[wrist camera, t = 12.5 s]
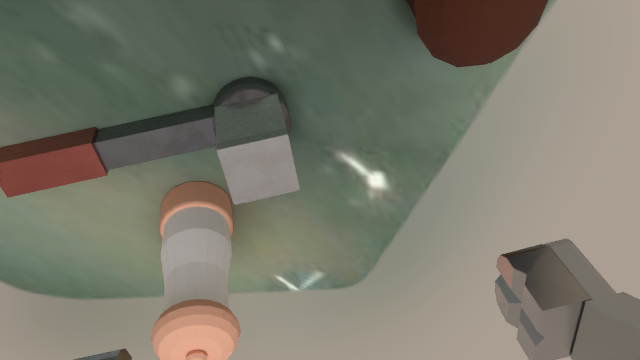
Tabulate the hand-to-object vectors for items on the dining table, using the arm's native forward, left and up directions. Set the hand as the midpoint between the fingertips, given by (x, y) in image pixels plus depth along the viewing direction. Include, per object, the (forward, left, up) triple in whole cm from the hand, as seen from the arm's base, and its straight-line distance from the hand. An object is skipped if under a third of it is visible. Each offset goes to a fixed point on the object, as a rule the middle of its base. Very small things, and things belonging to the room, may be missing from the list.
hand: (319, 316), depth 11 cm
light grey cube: (+15, -2, -34) cm, 37 cm away
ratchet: (+15, -12, -37) cm, 42 cm away
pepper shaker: (+25, -10, -37) cm, 46 cm away
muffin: (+6, +18, -37) cm, 42 cm away
